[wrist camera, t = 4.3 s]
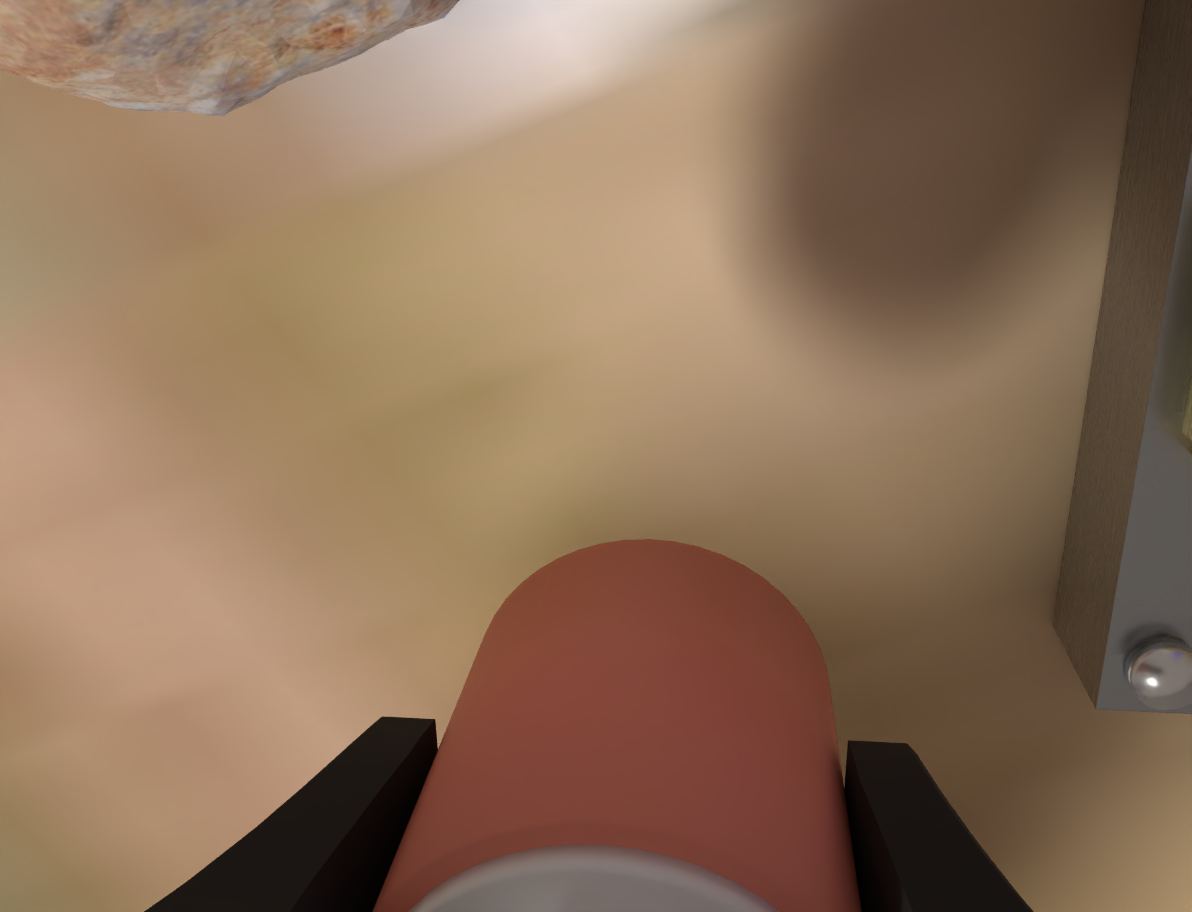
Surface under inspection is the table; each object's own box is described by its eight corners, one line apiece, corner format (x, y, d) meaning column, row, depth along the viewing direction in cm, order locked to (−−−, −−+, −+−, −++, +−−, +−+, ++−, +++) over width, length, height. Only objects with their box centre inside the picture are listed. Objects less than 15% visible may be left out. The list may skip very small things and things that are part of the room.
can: (820, 853, 14) (873, 1376, 9) (485, 833, 15) (338, 1313, 9) (841, 545, 13) (922, 945, 7) (465, 533, 13) (272, 898, 8)
